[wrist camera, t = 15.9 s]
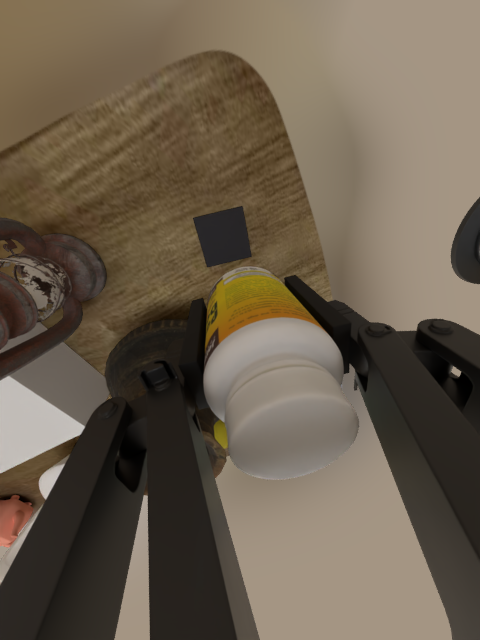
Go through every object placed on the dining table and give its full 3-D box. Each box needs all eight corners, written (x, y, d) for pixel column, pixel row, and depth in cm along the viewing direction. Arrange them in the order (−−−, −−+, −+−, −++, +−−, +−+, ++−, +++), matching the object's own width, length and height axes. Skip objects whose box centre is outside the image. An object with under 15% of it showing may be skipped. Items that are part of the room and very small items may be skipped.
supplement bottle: (202, 267, 14) (182, 386, 5) (287, 261, 14) (418, 358, 5) (211, 340, 16) (211, 504, 7) (282, 332, 17) (364, 480, 8)
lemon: (194, 408, 54) (191, 438, 47) (223, 399, 54) (224, 428, 47) (209, 432, 60) (208, 463, 53) (235, 425, 59) (238, 454, 52)
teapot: (30, 515, 69) (4, 561, 60) (-15, 510, 65) (-51, 558, 56) (43, 494, 65) (16, 540, 56) (-5, 487, 60) (-42, 535, 51)
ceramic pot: (145, 401, 51) (103, 523, 32) (103, 312, 40) (-4, 417, 20) (245, 385, 53) (265, 493, 33) (234, 294, 41) (254, 376, 21)
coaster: (242, 206, 34) (242, 206, 34) (251, 256, 38) (251, 256, 38) (193, 218, 34) (193, 218, 34) (207, 266, 38) (207, 267, 38)
